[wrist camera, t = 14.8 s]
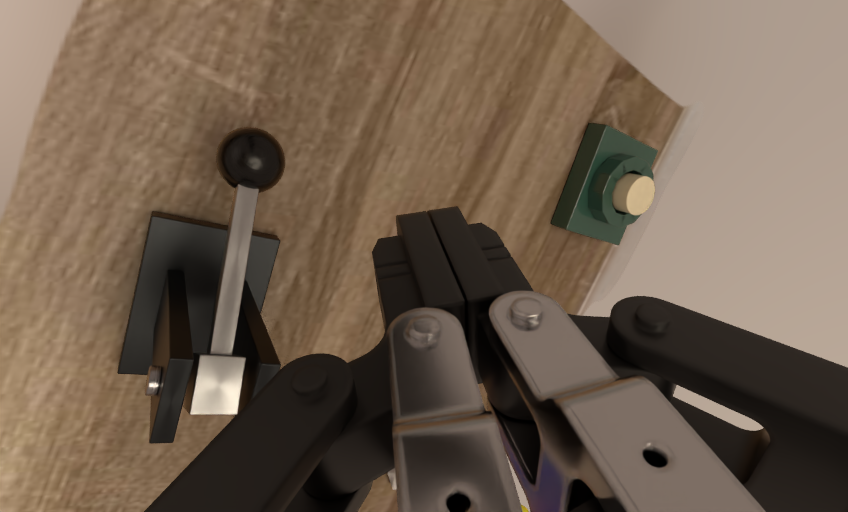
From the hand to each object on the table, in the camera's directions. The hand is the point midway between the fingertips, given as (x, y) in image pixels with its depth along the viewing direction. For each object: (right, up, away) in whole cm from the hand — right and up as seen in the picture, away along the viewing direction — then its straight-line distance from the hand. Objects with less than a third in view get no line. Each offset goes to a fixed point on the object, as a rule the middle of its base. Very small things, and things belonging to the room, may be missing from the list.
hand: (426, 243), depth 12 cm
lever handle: (-11, -1, +15) cm, 19 cm away
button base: (+17, +7, +36) cm, 40 cm away
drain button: (+19, +6, +33) cm, 38 cm away
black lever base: (-16, -3, +22) cm, 27 cm away
